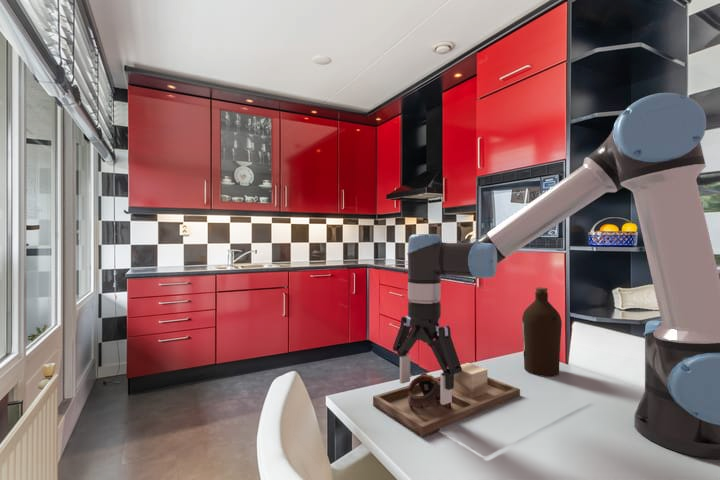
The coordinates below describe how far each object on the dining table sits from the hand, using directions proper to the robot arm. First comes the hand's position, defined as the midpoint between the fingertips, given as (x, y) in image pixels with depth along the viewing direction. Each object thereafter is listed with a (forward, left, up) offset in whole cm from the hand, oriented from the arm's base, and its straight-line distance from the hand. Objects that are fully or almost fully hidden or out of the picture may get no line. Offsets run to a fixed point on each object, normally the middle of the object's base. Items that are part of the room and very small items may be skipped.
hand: (424, 392), depth 84 cm
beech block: (0, -16, -4) cm, 16 cm away
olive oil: (-1, -47, -4) cm, 47 cm away
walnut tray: (0, -8, -4) cm, 9 cm away
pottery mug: (0, -2, -4) cm, 4 cm away
